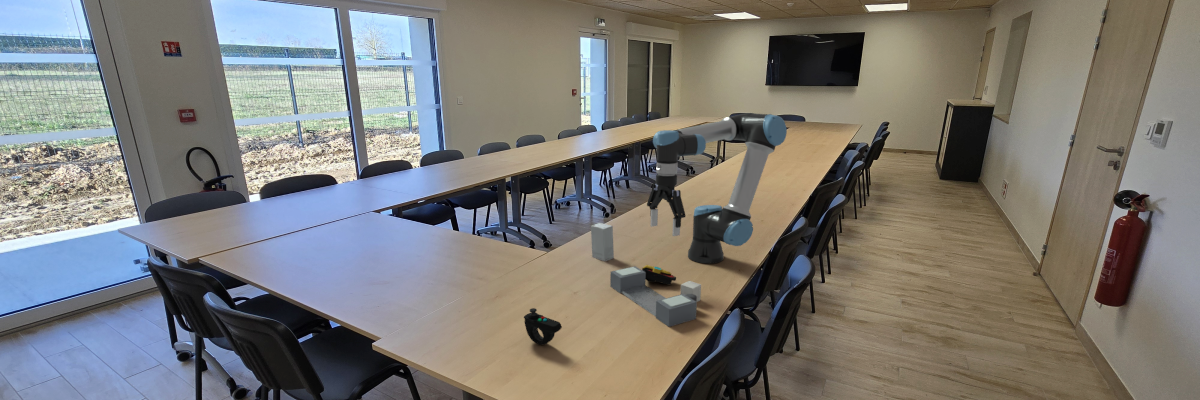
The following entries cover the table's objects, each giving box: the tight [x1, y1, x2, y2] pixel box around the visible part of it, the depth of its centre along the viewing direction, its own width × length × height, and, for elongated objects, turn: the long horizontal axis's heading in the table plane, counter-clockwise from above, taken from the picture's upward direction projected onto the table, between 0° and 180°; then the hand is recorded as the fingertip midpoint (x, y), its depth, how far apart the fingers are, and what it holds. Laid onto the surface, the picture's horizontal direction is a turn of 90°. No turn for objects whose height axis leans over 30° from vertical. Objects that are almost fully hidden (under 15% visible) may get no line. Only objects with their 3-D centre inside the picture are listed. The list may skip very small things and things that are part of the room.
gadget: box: [641, 264, 677, 285], centre depth 191 cm, size 6×13×6 cm, turn 76°
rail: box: [620, 284, 666, 318], centre depth 176 cm, size 10×32×1 cm, turn 29°
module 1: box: [609, 265, 646, 294], centre depth 188 cm, size 11×7×6 cm, turn 119°
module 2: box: [655, 293, 698, 328], centre depth 163 cm, size 11×7×6 cm, turn 119°
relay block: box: [679, 280, 702, 303], centre depth 177 cm, size 5×5×6 cm
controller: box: [523, 307, 563, 346], centre depth 147 cm, size 4×12×10 cm, turn 57°
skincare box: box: [590, 222, 615, 262], centre depth 217 cm, size 8×6×15 cm
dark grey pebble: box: [686, 294, 698, 303], centre depth 169 cm, size 4×4×5 cm
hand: (664, 230), depth 186 cm, fingers open, 13 cm apart
